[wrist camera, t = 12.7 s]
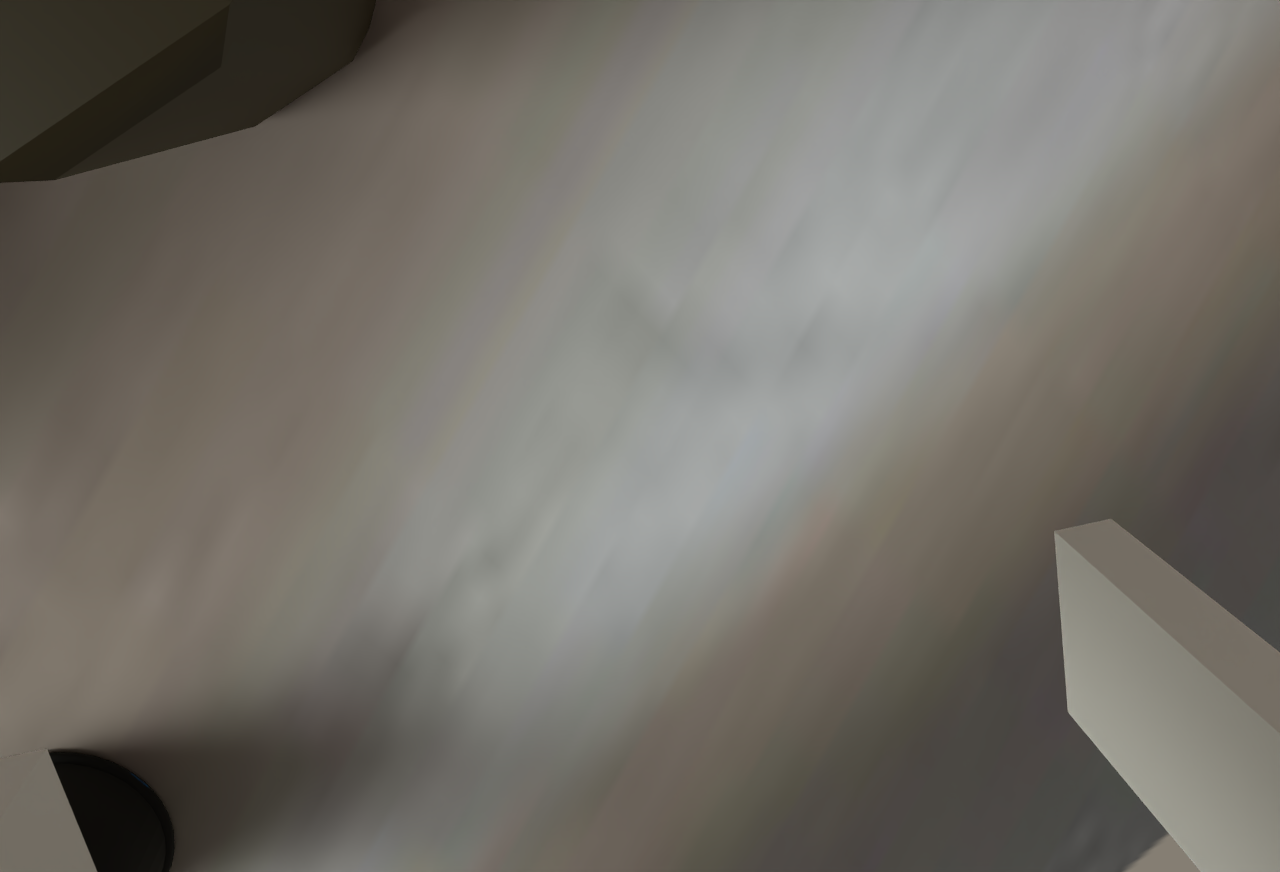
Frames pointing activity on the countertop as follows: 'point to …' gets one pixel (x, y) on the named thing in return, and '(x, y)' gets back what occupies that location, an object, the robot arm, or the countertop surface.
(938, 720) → the countertop surface
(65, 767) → the aerosol can
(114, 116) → the bottle
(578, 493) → the countertop surface
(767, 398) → the countertop surface
